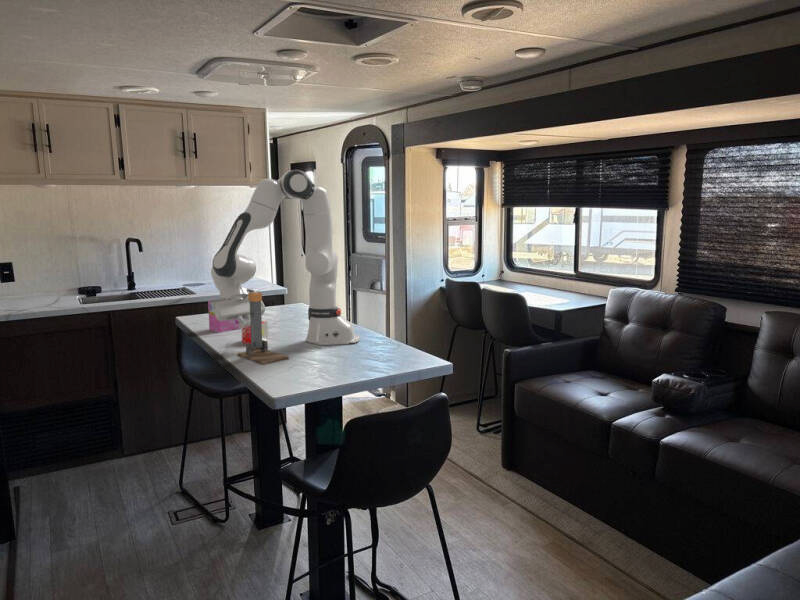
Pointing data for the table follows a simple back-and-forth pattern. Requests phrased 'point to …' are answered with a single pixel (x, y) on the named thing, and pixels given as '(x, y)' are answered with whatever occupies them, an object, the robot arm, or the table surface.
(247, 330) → the puzzle cube
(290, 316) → the table surface
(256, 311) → the lever
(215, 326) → the gum box
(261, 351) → the lever base
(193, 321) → the table surface
